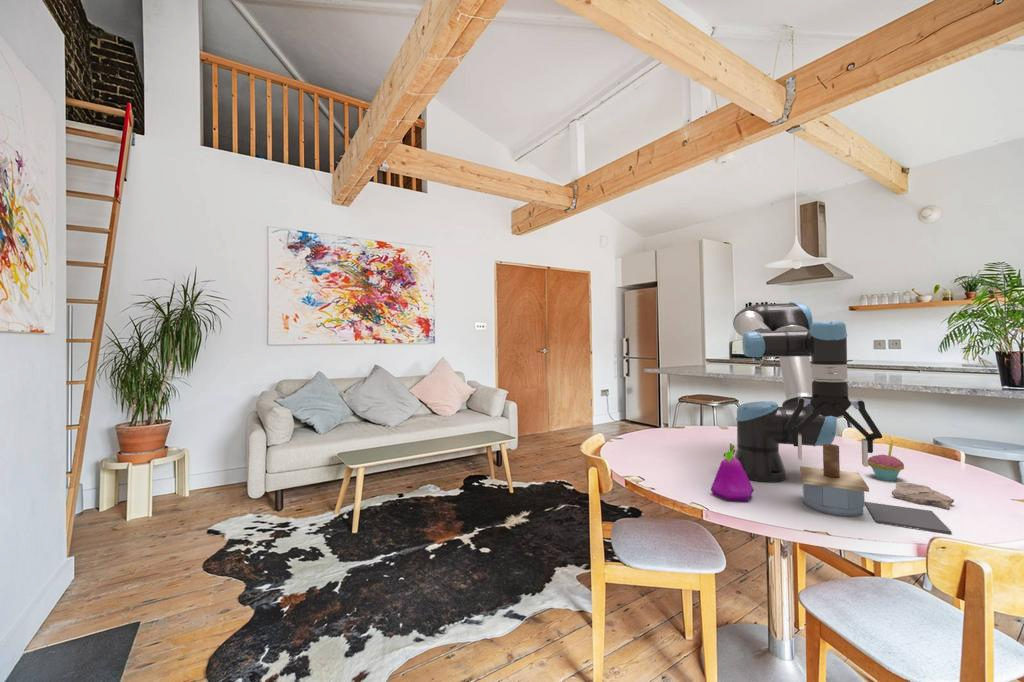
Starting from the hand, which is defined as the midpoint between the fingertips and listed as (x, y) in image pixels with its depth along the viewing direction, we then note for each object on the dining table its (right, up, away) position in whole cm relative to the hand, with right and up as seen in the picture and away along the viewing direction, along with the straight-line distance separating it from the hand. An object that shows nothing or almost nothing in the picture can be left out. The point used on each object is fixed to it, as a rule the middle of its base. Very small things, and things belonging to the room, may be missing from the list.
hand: (831, 462), depth 110 cm
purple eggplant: (-21, -13, +9) cm, 26 cm away
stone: (+27, -12, +4) cm, 30 cm away
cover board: (0, -5, 0) cm, 5 cm away
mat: (+12, -11, -7) cm, 18 cm away
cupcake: (+32, -11, +21) cm, 40 cm away
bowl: (0, -12, 0) cm, 12 cm away
